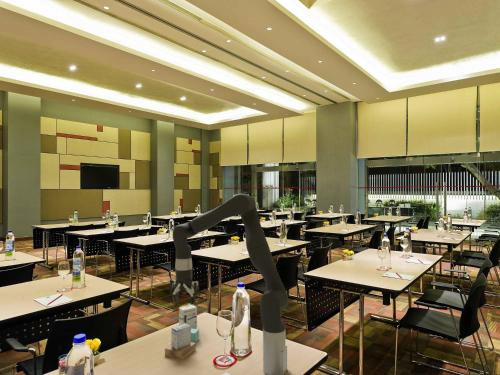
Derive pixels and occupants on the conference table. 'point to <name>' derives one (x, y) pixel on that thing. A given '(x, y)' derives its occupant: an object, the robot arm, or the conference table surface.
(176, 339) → the medicine box
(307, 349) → the conference table surface
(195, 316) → the ink box
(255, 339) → the conference table surface
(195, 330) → the teal cube
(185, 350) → the walnut slab
